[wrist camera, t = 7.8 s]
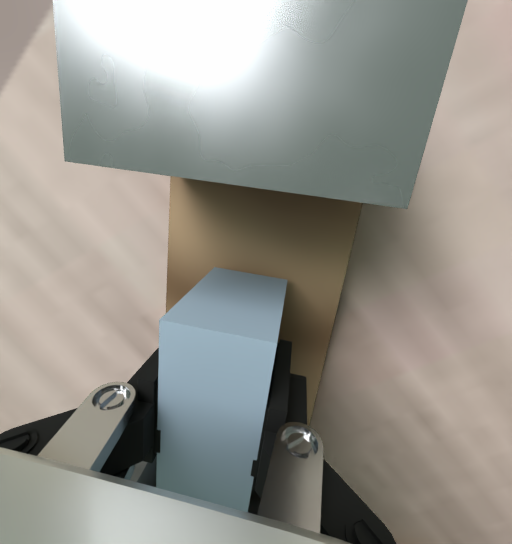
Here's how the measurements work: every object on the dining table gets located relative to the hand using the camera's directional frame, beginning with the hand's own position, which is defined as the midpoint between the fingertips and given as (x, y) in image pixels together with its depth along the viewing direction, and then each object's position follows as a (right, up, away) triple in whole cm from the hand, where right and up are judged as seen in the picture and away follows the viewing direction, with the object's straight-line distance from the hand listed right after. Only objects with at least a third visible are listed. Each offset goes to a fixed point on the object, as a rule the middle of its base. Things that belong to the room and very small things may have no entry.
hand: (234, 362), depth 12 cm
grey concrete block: (+1, +9, -2) cm, 10 cm away
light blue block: (0, -1, +2) cm, 2 cm away
